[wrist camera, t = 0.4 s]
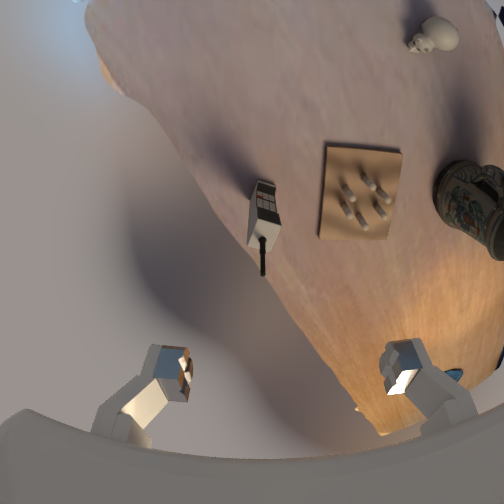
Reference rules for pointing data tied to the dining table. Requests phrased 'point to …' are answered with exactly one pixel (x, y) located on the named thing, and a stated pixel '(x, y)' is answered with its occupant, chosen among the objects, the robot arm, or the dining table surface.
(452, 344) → the dining table surface
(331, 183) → the pin dock
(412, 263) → the dining table surface
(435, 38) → the round bodied animal figurine
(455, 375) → the decorative plate
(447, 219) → the beer stein
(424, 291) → the dining table surface
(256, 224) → the vintage mobile phone
